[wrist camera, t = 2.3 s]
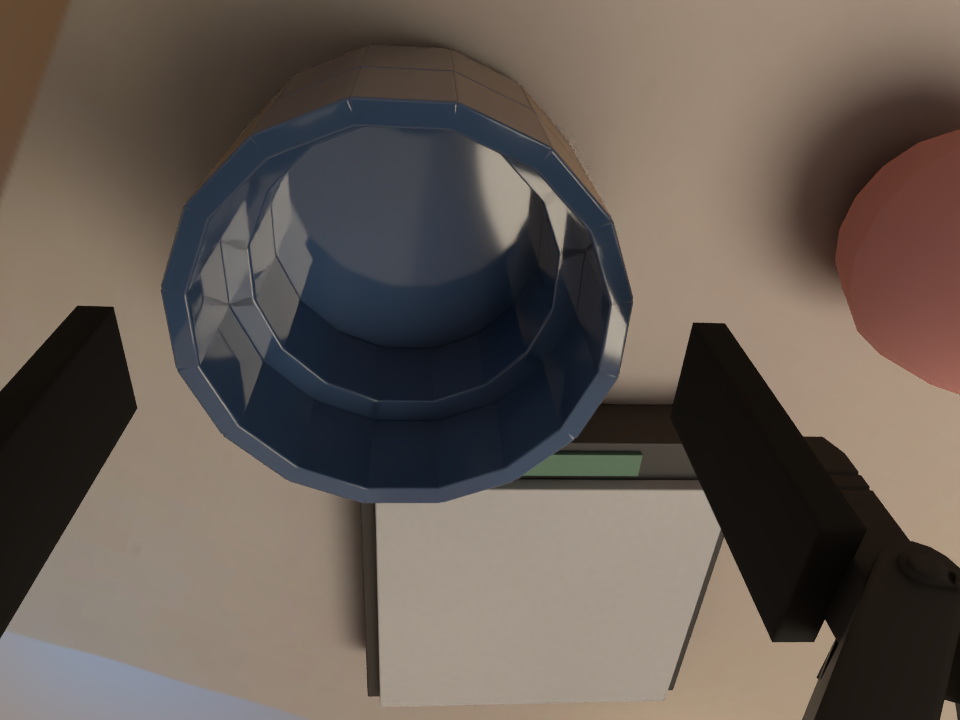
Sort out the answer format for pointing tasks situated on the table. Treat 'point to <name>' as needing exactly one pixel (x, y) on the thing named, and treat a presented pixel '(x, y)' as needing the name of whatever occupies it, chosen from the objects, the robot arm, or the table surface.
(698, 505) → the scale
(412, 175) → the blue bowl
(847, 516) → the robot arm
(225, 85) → the table surface
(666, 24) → the table surface
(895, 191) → the pink bud vase
